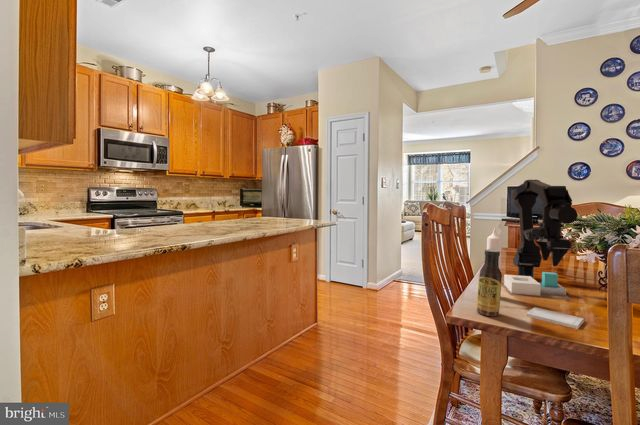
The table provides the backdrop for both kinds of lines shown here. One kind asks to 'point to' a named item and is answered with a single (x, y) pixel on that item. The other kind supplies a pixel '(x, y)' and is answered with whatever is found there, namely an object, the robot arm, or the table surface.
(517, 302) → the table surface
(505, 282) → the port box
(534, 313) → the hard drive
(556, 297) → the board
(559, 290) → the holster
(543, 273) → the plug
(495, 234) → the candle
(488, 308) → the sauce bottle
